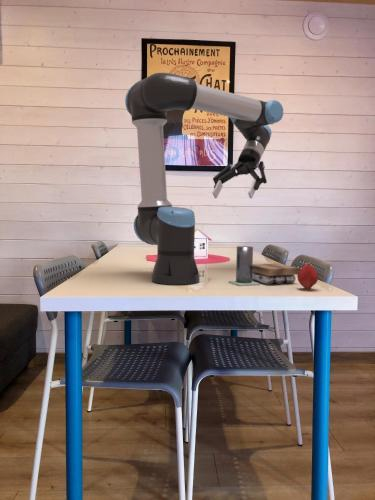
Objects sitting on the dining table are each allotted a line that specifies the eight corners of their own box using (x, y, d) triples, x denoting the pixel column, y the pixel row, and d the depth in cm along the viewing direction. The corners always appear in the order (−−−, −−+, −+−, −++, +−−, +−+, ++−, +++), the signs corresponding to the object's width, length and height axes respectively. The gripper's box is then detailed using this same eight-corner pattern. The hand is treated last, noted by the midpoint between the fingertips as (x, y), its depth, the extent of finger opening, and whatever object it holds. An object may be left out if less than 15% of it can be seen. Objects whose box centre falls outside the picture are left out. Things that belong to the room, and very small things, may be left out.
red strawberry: (292, 288, 134) (293, 261, 133) (307, 287, 137) (308, 260, 136) (307, 292, 129) (308, 263, 128) (321, 290, 132) (322, 263, 131)
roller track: (265, 285, 140) (265, 275, 140) (250, 280, 148) (250, 271, 148) (295, 283, 144) (295, 273, 144) (278, 279, 152) (279, 270, 152)
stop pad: (239, 286, 137) (239, 284, 137) (228, 282, 144) (228, 280, 144) (259, 284, 140) (259, 283, 140) (247, 281, 147) (247, 279, 146)
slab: (268, 275, 138) (268, 269, 138) (248, 270, 149) (248, 264, 149) (298, 274, 142) (298, 267, 142) (276, 269, 153) (276, 263, 153)
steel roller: (241, 283, 139) (242, 247, 138) (232, 281, 143) (233, 246, 142) (255, 282, 141) (256, 247, 140) (246, 280, 145) (247, 246, 144)
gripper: (285, 162, 165) (268, 203, 153) (223, 165, 178) (204, 203, 166) (280, 145, 160) (262, 186, 148) (217, 149, 173) (196, 187, 162)
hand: (231, 195), depth 157 cm, fingers open, 13 cm apart
